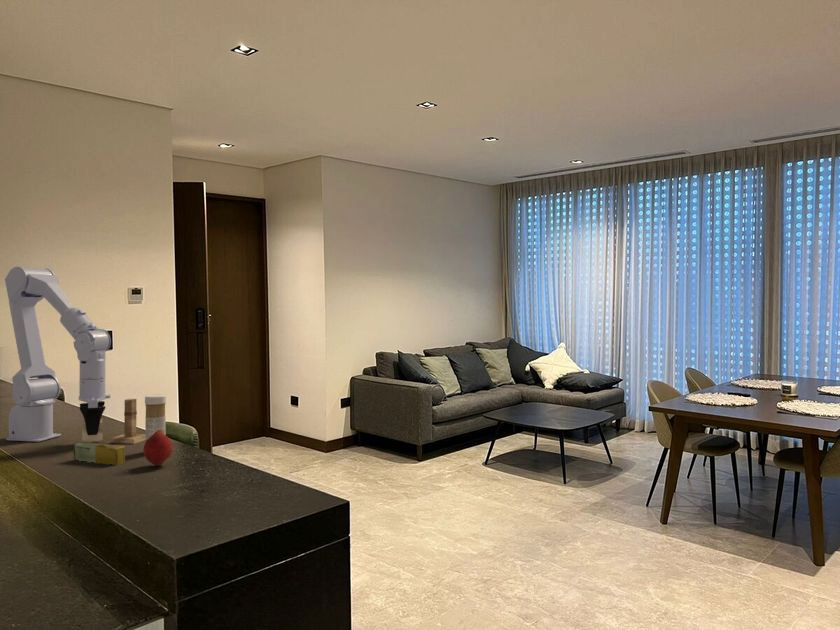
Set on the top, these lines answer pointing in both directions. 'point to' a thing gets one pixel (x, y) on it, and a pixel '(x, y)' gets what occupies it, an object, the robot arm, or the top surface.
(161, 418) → the sprinkles bottle
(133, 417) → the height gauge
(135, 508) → the top surface
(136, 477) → the top surface
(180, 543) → the top surface
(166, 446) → the onion
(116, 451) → the medication box
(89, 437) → the cube
